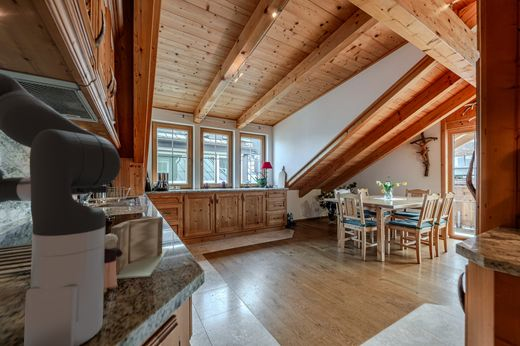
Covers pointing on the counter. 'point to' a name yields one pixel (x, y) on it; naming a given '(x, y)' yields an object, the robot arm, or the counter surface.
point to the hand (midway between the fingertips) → (107, 189)
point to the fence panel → (145, 238)
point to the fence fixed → (121, 244)
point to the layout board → (142, 266)
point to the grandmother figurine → (111, 262)
